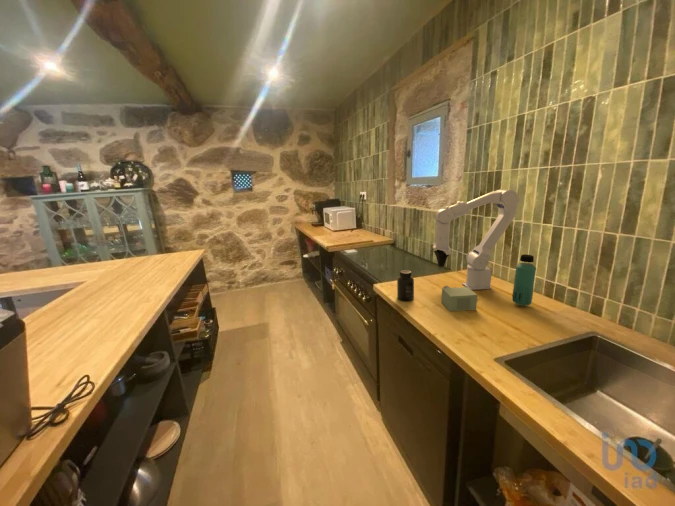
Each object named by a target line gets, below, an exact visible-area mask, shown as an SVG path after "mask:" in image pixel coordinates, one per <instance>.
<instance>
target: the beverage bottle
mask: <svg viewBox="0 0 675 506" xmlns="http://www.w3.org/2000/svg"><path fill="white" fill-rule="evenodd" d="M534 258H535V257H534V255H532V254H521V255H520V259H519V261H520V262H519V263H518V264H516V266H515V273H514V278H513V281H514V282H513V289H512V294H511V299H512V302H513V303H514V304H517V305H520V306H529V305H532V301H533V296H534V284H535V277H536V270H537V267H536V266H535V265H534V264H533V263H534Z"/></svg>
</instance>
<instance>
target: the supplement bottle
mask: <svg viewBox="0 0 675 506" xmlns="http://www.w3.org/2000/svg"><path fill="white" fill-rule="evenodd" d="M412 273H413V272H412V271H411V270H409V269H403V270H402V269H400V270H399V277H398V278H397V279H396V280H397V281H396V283H397V284H396V285H397V287H396V291H397V299H398V300H400V301H402V302H410V301H413V300H414V298H415V280H414V278H413V276H412V275H413V274H412Z"/></svg>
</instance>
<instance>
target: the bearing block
mask: <svg viewBox="0 0 675 506" xmlns="http://www.w3.org/2000/svg"><path fill="white" fill-rule="evenodd" d="M477 301H478V294H477V293H476V292H474V290H470V289H469V288H468V287H466V286H463V287H462V286H461V287H459V286H458V287H450V288H443V287H442V288H441V301H440V302H441V304H442V305H443V306H444V307H446V309H447V310H448V311H449V312H457V311H459V312H460V311H474V310H477V303H478V302H477Z"/></svg>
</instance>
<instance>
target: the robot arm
mask: <svg viewBox="0 0 675 506" xmlns="http://www.w3.org/2000/svg"><path fill="white" fill-rule="evenodd" d="M519 202H520V197H519V194H518V193H517V192H516V190H514V189H502V188H500V189H496V190H494V191H489V192H488V193H486V194H483V195H481V196H479V197H477V198H474V199H472V200H470V201H467V202H466V201H463V200H462V201H460V200H459V201H456V204H452V205H450V206H445V209H444V208H440V209H439V210H437V211H436V213H435V215H434V219H435V220H436V224H435V242H433V245H432V249H434V250H433V253H434V255H435V257H436V261H437V262H436V263H437V266H438V267H440V268H442V267H445V264H446V260H447V259H448V257H449V255H451V256H452V252H453V249H451V247H450V233H451V232H450V230H451V222H452V221H453V220H456V219H457V218H460V217H463V216H465V215H468V214H469V212H470V211H471V210H473V209H476V208H478V207H479V208H480V207H481V206H484V205H488V204H494V205H496V207H497V209H498V211H499V214H498V216H497V217H496V219H495V220H494V221H493V223H492V225H491V227H490V228H489V229H488V231H487V233H486V234H485V235H484V236H483V238H482V239H481V241H480V242H479V244H478V245H476V246H474V247H473V249H472V250H470V251H469V252H468V253H467V254H466V256H465V261H466V262H467V266H466V267H467V268H466V281H465V282H462V285H463V286H464V287H468V288H469V289H470V290H472V291H474V290H475V291H476V290H490V289H492V287H491V282H492V271H491V269H490V268H489V267H488V266H489V260H490V259H491V256H492V254H491V253H492V252H491V251H492V250H493V249H494V247H495V245H496V244H497V243H498V241H499V240H500V238H501V237H502V236H503V235H504V233H505V231H506V230H507V228H508V227H509V226H510V224H511V223H512V222H513V220H514V218H515V217H516V215H517V209H518V203H519Z"/></svg>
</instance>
